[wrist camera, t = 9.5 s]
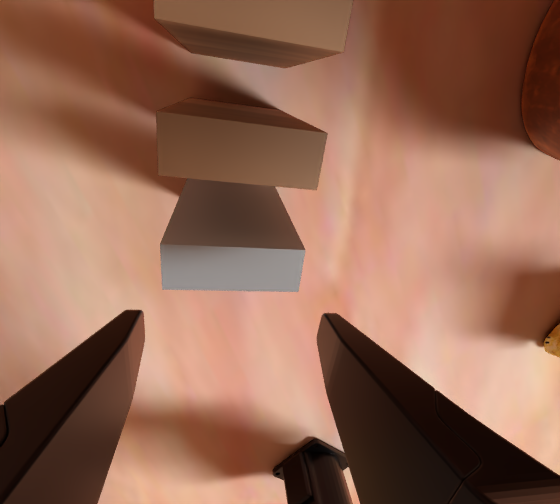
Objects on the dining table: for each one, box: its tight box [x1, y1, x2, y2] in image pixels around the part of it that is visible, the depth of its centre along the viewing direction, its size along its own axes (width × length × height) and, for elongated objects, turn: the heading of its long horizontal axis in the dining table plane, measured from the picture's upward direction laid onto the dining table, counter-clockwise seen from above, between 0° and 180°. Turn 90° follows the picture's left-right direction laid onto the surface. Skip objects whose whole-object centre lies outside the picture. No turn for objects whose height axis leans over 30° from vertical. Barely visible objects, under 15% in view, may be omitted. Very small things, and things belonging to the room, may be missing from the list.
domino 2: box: [156, 98, 328, 190], centre depth 14 cm, size 2×5×10 cm, turn 82°
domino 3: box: [154, 0, 353, 68], centre depth 13 cm, size 2×5×10 cm, turn 82°
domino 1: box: [160, 178, 305, 292], centre depth 16 cm, size 2×5×10 cm, turn 83°
